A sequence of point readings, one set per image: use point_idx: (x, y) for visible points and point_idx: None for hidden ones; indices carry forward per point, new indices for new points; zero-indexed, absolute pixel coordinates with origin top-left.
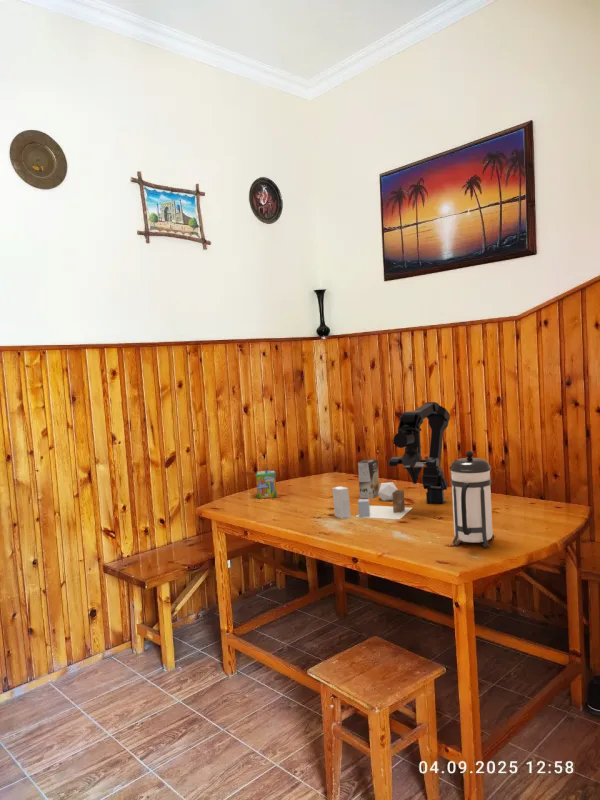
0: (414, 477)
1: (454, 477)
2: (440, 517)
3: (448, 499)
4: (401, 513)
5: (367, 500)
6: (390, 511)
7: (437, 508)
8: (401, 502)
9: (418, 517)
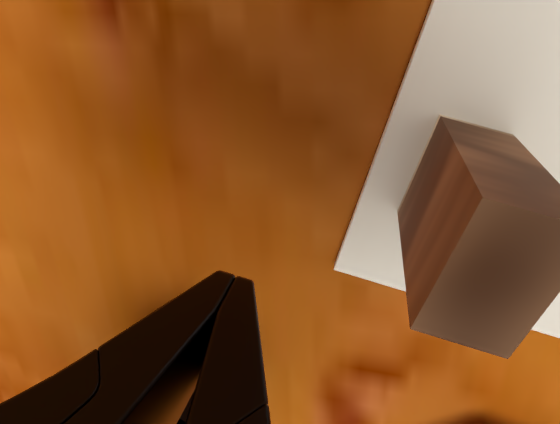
0: (182, 344)
1: None
2: (111, 7)
3: None
4: (438, 106)
5: None
6: None
7: (174, 257)
8: (443, 172)
9: (288, 12)
